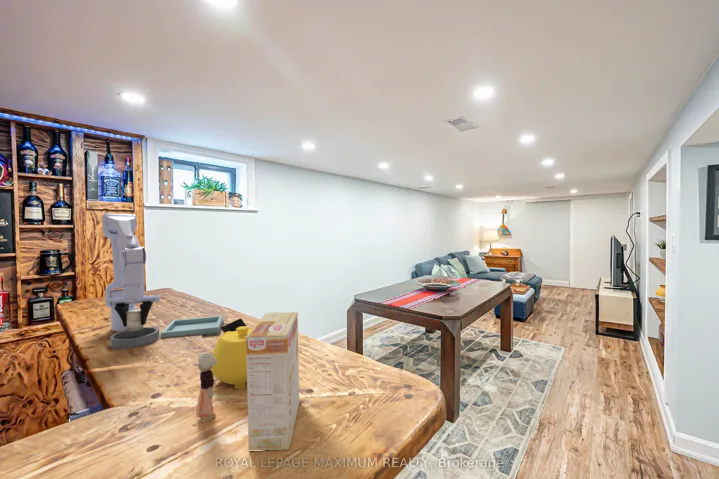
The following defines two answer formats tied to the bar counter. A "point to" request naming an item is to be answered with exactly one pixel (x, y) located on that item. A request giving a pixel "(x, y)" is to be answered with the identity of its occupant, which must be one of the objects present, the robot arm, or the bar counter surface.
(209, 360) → the grandmother figurine
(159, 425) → the bar counter surface
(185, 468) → the bar counter surface
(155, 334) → the grey rounded shallow piece
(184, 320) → the tray
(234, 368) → the teapot
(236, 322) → the handheld gaming console
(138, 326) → the cylinder
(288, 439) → the coffeecake box
